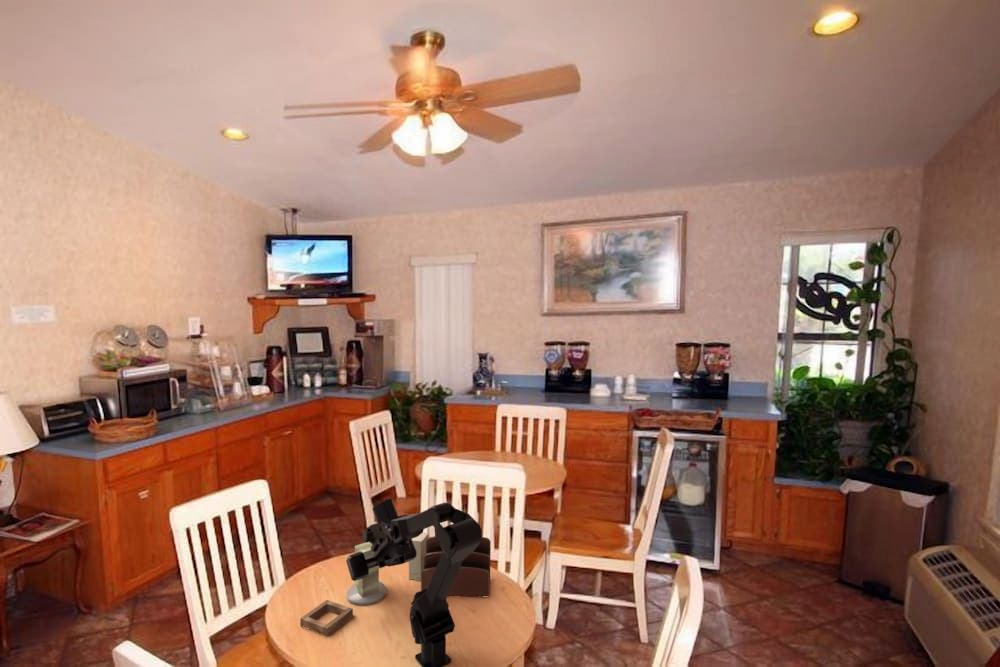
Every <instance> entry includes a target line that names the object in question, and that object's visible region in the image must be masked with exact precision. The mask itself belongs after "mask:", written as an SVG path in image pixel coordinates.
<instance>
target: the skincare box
mask: <svg viewBox="0 0 1000 667" xmlns="http://www.w3.org/2000/svg"><path fill="white" fill-rule="evenodd" d="M427 538H429V533H427V532H423V533H422V534H420V535H419V536H418V537H415V538H412V541H413V543H414V546H415V549H416V551H417V555H416V557H415V558H414V560H411V561H409V562H408V579H409V580H413V579H414V581H421V572H422V570H424V555H425V554H426V540H427Z"/></svg>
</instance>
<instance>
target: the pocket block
mask: <svg viewBox="0 0 1000 667" xmlns="http://www.w3.org/2000/svg"><path fill="white" fill-rule="evenodd" d="M324 612H325V613H326V612H329V613H332V614H334V615H337V616H336V617H334V618H333V619H332V620H331V621H329V622H328V623H325V622H322V621H320V620H316V619H317V617H318V618H319V617H320V616H322V615H323V614H325V613H324ZM353 616H354V609H353V608H351V607H349V606H346V605H343V604H341V603H337V602H334V601H331V600H329V599H326V600H324V601H323V602H322V603H320V604H318V605H317V606H316V607H314V608H313V609H311V610H310V611H309V612H307V613H306V614H305V615H303V616H302V617H300V620H299V621H300V624H299V625H301V626H300V627H302V626H304V627H306V628H305V629H307V628H309V629H311V630H310V631H312V630H313V631H312V632H315V631H316V632H315V633H317V632H318V634H320V635H322V634H323V636H326V637H329V636H330V634H332V633H334V631H336V630H337V629H339V627H341V626H342V625H344V624H345V623H346V622H347V621H348V620H350V619H351V618H352V617H353ZM304 627H303V628H304ZM309 629H308V630H309Z"/></svg>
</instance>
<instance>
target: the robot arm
mask: <svg viewBox="0 0 1000 667" xmlns="http://www.w3.org/2000/svg"><path fill="white" fill-rule="evenodd" d="M372 512H373V515H374V517H375V518H374V519H375V520H376V523H373V524H371V525H369V526H368V527H365V529H364V530H362V532H361V533H362V534H361V538H362V539H363V541H364V543H367V542H370V543H371V544H372V546H371V551H372V552H374V557H372V558H370V559H367V560H366V559H365V556H364V553H363V552H358V553H355V552H354V553H352V554H350V555H349V556H347V558H346V560H345V563H346V565H347V569H348V572H349V575H350V578H351V581H353V582H355V581H356V580H360V579H362V578H365V577H367V575H368V574H369V569H370V568H373V567H376V566H379V570H380V569H382V568H385V567H388V568H390V567H394V566H399V565H403V564H405V563H409V561H411V560H414V558H415V557H416V555H417V551H416V549H415V546H414V543H413V541H412V538H415V537H418V536H419V535H420V534H422V533H424V530H425V529H429V528H430V527H433V528H434V536H435V538H436V539H437V540H438V542H439V543H440V546H441V548H442V550H443V552H442V555H441V557H440V560H439V562H438V564H437V567H436V569H435V572H434V574H433V576H432V579H431V581H430V584H429V586H428V588H426V589H424V590H421V589H420V591H416V592H415V594H414V596H413V600H412V601H411V602H410V605H411V607H410V610H409V612H410V613H409V623H410V629H411V634H412V638H414V644H416V645H420V652H418V653H417V654H415V655H414V659H415V660H416V661H417V662H418V664H419V665H420V667H444V666H447V665H449V664H451V663H452V658H451V657H450V656H449V654H447V652H446V651H447V650H446V649H447V648H446V646H447V645H446V644H447V642H446V641H447V638H446V636H447V635H448V634H450V633H453V632H454V631H455V627H456V625H455V621H454V619H453V617H452V614H451V611H450V609H449V608H450V605H449V603H448V601H447V598H448V597H449V596H448V594H449V591H450V589H451V587H452V585H453V582H454V580H455V578H456V576H457V573H458V571H459V569H460V567H461V564H462V562H463V560H464V559H465V558H466V557H467V556H468V555H469V554H471V553H472V552H473V551H474V550H475V549H476V548H477V546H478V545H479V544H480V542H481V539H482V537H483V532H482V531H483V530H482V527H481V525H480V523H478V522H477V521H476V519H474V518H473V517H472V516H471V515H470V514H469V513H468V512H466V511H463V510H461V509H458V508H455V506H453V505H452V503H450V502H443V503H438V504H435V505H431V506H430V507H429V508H428V509H426V510H424V511H421V512H419V513H411V514H409V513H405V514H403V515H399V514H398V511H397V509H396V506H395V503H394V501H393V500H392V498H387V499H384V500H383V501H382V502H380V503H378V504H377V505H374V506H373V507H372ZM448 521H449V522H450V523H451V524H448V525H445V526H443V525H442V523H445V522H448ZM375 562H376V563H375ZM370 564H371V565H370Z"/></svg>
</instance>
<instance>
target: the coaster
mask: <svg viewBox="0 0 1000 667" xmlns="http://www.w3.org/2000/svg"><path fill="white" fill-rule="evenodd" d="M386 595H387V586H386V585H385V583H384V582H382V581H379V592H376V593H374V594H371V595H368V596H366V597H363V598H362V597H361V596H360V595H359V594H358V593H357V592H356V591H355V584H353V585H351V586H350V587H349V588H347V591H346V600H347V601H348V603H350V604H352V605H355V606H368V605H369V606H370V605H373V604H376V603H378V602H380V601H382V600H383V599H384V598H385V596H386Z"/></svg>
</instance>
